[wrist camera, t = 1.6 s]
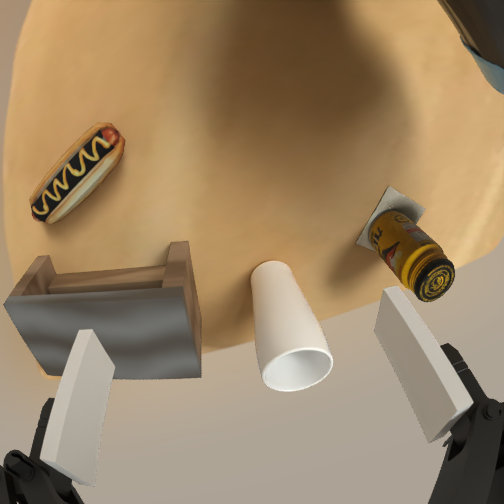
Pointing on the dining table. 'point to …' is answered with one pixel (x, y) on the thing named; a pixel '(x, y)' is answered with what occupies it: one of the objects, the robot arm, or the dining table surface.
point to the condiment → (407, 247)
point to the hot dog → (77, 173)
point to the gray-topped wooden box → (114, 316)
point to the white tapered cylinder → (286, 331)
